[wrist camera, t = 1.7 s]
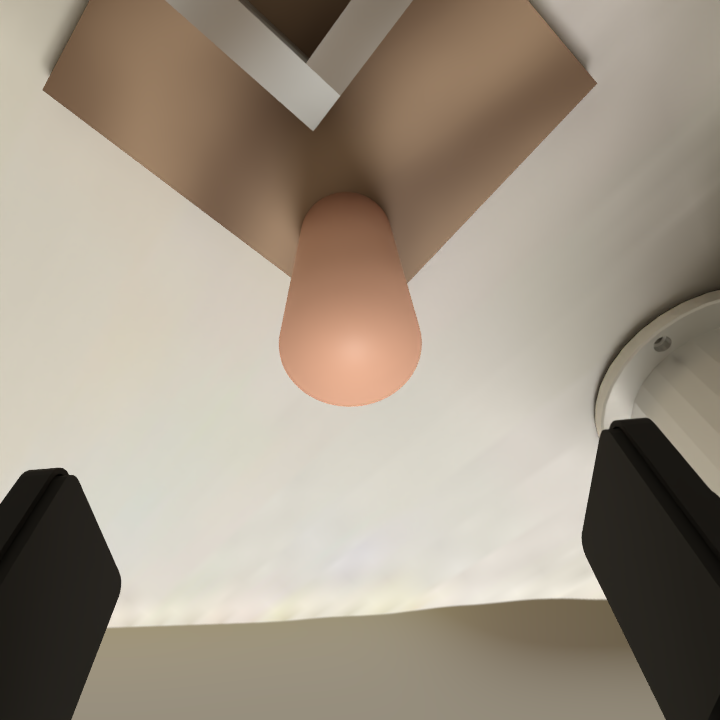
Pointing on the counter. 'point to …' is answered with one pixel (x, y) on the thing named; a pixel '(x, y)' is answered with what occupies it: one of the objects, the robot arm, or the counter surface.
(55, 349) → the counter surface
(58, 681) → the robot arm
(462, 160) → the socket board
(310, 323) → the peg
